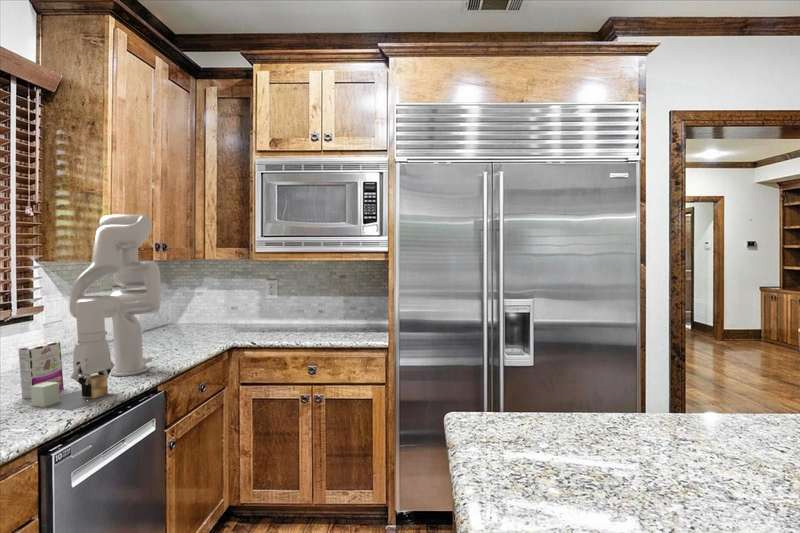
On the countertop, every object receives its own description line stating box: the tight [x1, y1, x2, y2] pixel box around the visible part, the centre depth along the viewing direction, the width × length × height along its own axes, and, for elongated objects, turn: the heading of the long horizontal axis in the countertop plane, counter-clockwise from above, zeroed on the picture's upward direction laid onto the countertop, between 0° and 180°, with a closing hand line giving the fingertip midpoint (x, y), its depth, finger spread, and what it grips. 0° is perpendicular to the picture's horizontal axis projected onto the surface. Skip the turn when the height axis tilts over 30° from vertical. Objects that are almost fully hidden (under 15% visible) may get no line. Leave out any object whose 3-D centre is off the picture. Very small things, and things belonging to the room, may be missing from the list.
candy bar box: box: [18, 341, 64, 399], centre depth 161 cm, size 11×5×16 cm, turn 168°
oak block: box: [80, 373, 109, 398], centre depth 156 cm, size 5×5×6 cm
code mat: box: [30, 390, 118, 411], centre depth 154 cm, size 16×17×1 cm
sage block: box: [30, 382, 61, 408], centre depth 150 cm, size 5×5×6 cm
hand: (94, 393), depth 157 cm, fingers closed on oak block, 5 cm apart
